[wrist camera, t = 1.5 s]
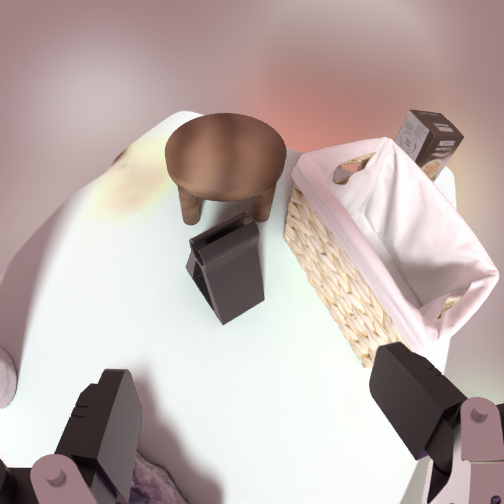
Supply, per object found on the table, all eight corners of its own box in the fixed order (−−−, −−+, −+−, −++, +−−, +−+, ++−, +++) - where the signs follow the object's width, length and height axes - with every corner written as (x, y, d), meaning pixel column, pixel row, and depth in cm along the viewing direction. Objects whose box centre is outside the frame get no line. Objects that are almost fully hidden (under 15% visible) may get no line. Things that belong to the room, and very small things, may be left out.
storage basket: (270, 231, 42) (289, 151, 30) (354, 199, 47) (389, 131, 34) (361, 382, 32) (433, 358, 20) (438, 321, 37) (506, 277, 24)
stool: (169, 237, 40) (159, 194, 32) (175, 158, 48) (170, 115, 40) (284, 231, 42) (297, 189, 34) (268, 155, 50) (275, 113, 42)
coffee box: (391, 205, 47) (434, 136, 33) (372, 178, 50) (408, 108, 36) (423, 197, 49) (465, 136, 36) (405, 173, 52) (441, 111, 38)
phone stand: (263, 301, 37) (280, 252, 26) (222, 326, 35) (222, 286, 24) (225, 247, 40) (226, 186, 30) (186, 268, 38) (173, 211, 28)
